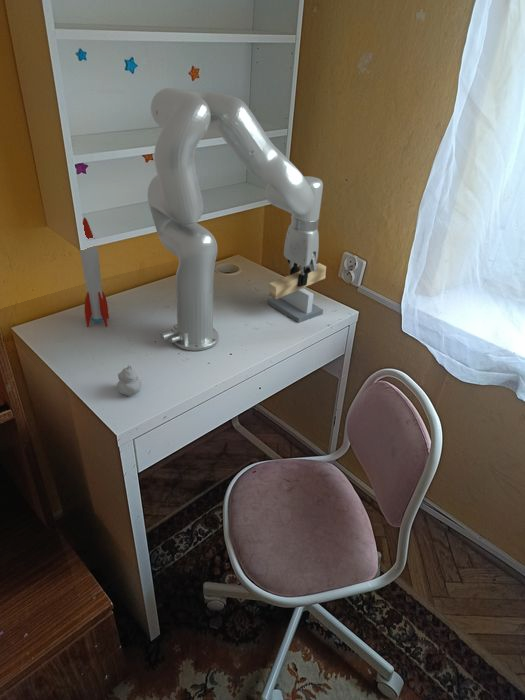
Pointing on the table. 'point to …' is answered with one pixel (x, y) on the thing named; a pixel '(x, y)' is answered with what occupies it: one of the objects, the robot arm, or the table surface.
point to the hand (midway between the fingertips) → (298, 282)
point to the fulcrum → (297, 305)
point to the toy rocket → (93, 283)
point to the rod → (295, 282)
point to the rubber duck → (128, 381)
